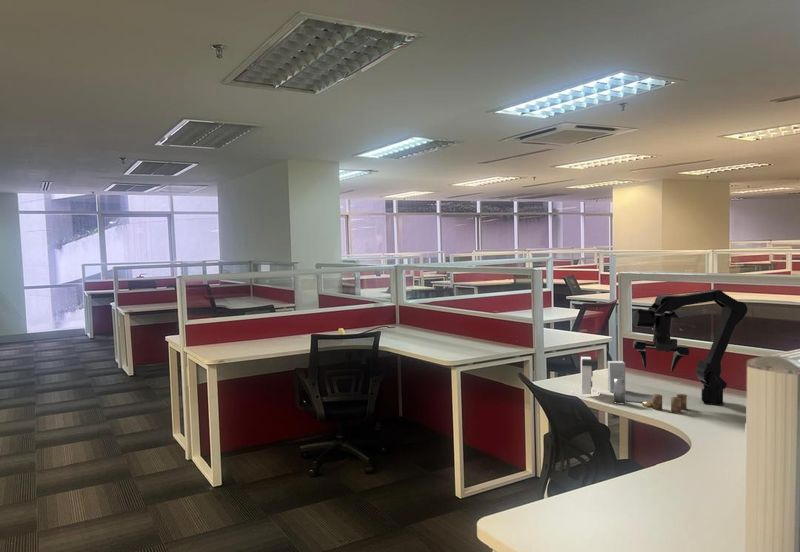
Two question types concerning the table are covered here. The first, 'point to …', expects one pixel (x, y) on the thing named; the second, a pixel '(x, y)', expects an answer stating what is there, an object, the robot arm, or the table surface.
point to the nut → (648, 403)
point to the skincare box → (615, 372)
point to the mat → (638, 397)
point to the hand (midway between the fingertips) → (658, 370)
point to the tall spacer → (619, 390)
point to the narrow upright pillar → (586, 374)
